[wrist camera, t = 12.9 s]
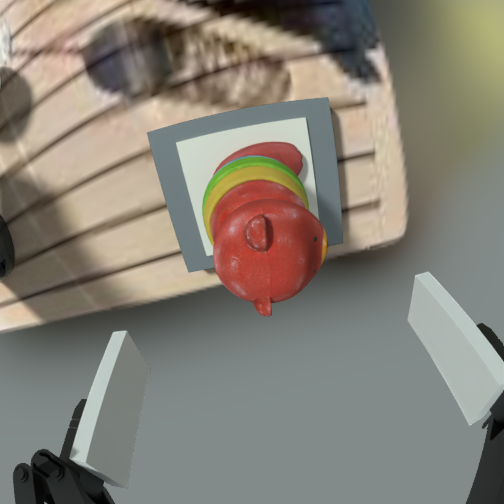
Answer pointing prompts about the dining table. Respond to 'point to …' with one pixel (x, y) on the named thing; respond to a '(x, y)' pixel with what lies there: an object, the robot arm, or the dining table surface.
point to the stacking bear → (263, 225)
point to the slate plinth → (231, 140)
